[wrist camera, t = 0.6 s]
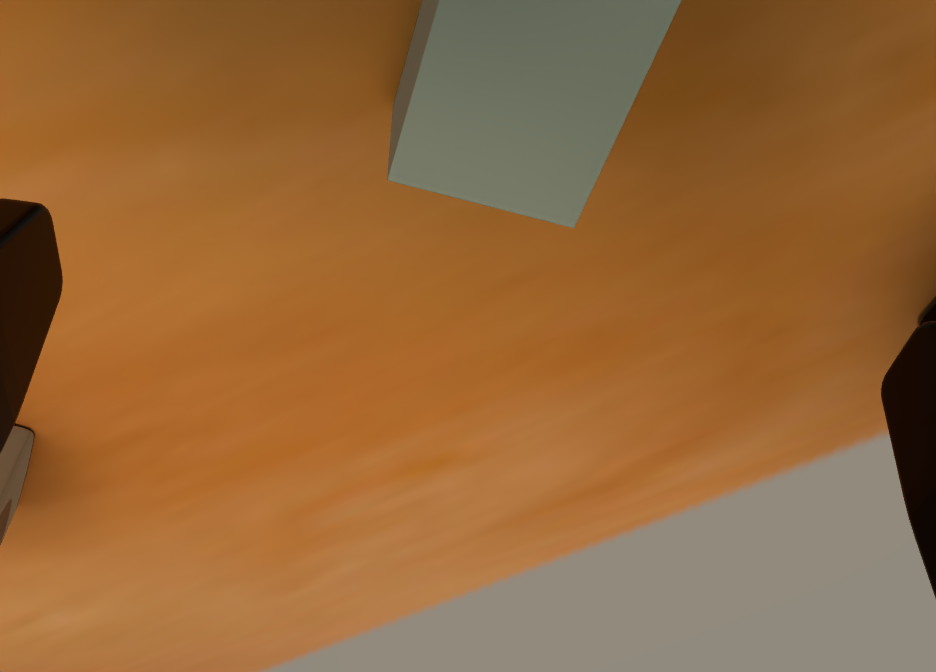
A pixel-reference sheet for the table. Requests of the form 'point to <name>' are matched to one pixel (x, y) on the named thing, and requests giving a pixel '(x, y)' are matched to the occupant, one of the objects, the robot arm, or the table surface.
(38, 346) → the robot arm
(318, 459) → the table surface
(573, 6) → the key block
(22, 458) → the skincare box
